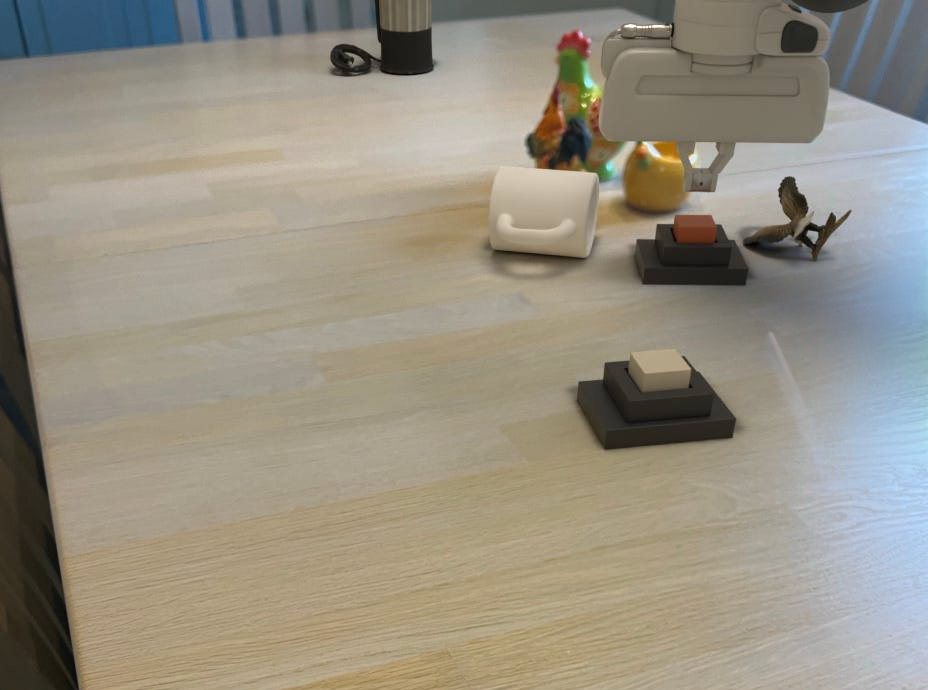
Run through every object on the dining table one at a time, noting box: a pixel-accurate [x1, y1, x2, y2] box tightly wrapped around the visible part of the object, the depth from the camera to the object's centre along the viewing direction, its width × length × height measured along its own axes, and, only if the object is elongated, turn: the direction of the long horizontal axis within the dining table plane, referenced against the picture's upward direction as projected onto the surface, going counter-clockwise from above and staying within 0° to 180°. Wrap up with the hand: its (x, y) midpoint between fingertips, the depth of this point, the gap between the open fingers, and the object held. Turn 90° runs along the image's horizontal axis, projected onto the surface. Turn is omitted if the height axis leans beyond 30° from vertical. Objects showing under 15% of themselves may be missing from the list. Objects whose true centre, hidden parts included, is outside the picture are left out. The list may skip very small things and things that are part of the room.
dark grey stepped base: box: [634, 223, 750, 287], centre depth 101 cm, size 10×8×4 cm
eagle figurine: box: [742, 175, 853, 262], centre depth 104 cm, size 8×7×9 cm
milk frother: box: [329, 0, 435, 75], centre depth 166 cm, size 14×16×15 cm
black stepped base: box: [576, 355, 737, 451], centre depth 78 cm, size 10×8×4 cm
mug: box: [487, 165, 600, 259], centre depth 102 cm, size 12×10×8 cm
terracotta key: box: [673, 214, 717, 243], centre depth 99 cm, size 4×4×2 cm
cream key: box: [628, 348, 691, 392], centre depth 76 cm, size 4×4×2 cm
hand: (698, 190), depth 97 cm, fingers closed
